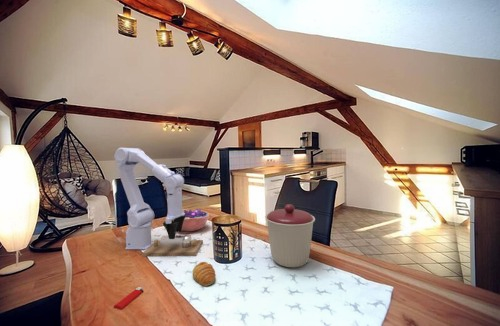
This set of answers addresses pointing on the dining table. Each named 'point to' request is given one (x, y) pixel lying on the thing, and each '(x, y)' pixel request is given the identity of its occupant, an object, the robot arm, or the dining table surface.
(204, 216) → the cell model
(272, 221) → the canister
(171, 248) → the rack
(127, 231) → the robot arm
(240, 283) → the dining table surface
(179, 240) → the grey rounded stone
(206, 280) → the pastry
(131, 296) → the lighter
